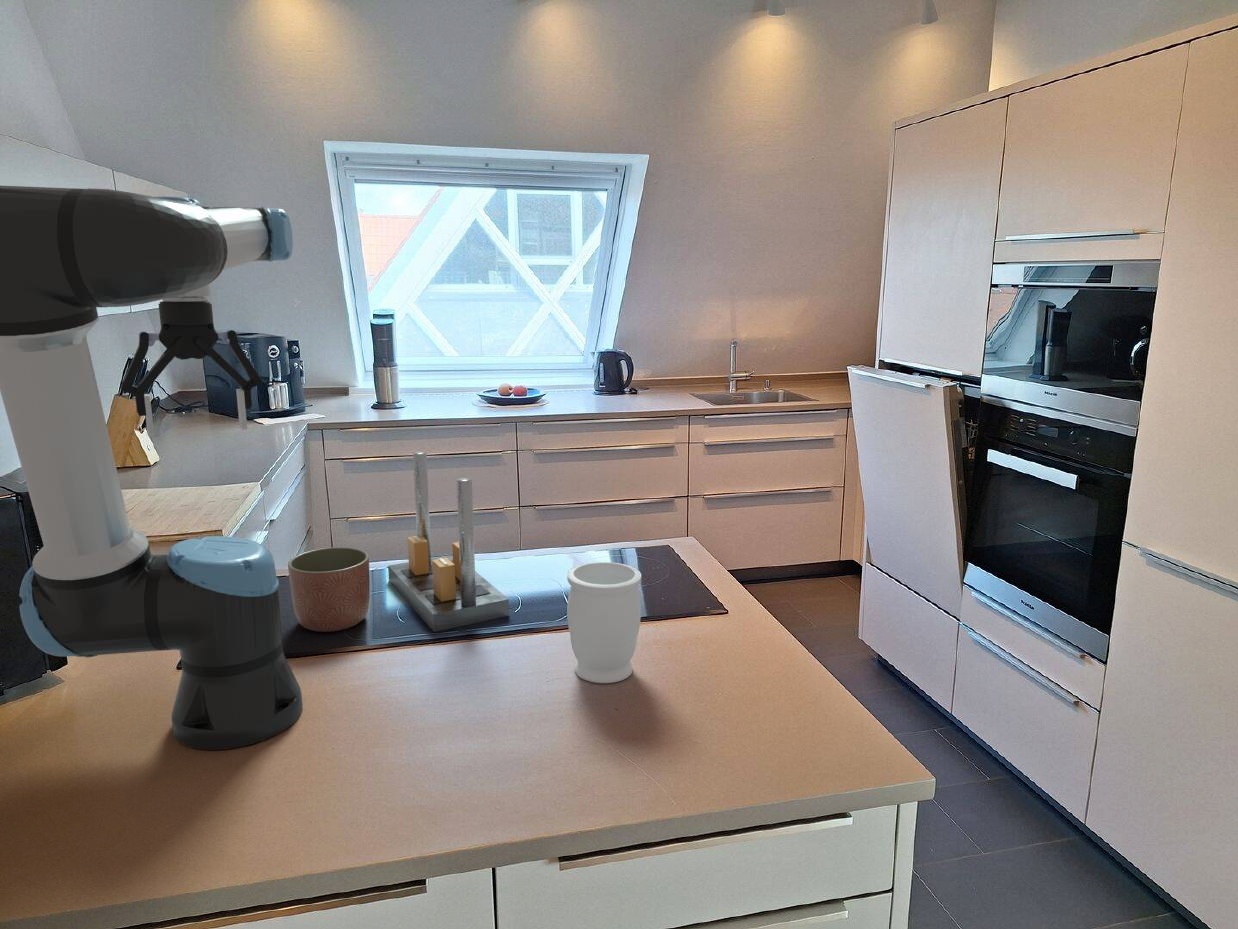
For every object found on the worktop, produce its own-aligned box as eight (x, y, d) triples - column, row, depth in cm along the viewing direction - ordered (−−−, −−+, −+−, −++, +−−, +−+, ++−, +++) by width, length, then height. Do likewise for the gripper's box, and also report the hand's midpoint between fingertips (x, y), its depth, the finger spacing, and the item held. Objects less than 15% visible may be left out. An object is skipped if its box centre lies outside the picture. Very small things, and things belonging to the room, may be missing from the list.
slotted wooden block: (456, 598, 136) (454, 563, 135) (441, 601, 135) (440, 566, 134) (447, 591, 140) (446, 556, 138) (433, 593, 138) (432, 558, 137)
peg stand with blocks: (509, 615, 138) (506, 477, 132) (434, 632, 131) (427, 486, 126) (455, 569, 159) (451, 448, 154) (388, 580, 153) (381, 455, 148)
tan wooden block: (429, 573, 148) (427, 540, 147) (415, 575, 147) (414, 542, 145) (422, 566, 151) (420, 534, 150) (409, 568, 150) (407, 536, 149)
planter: (300, 644, 126) (295, 577, 124) (287, 616, 137) (281, 554, 134) (381, 628, 133) (377, 564, 130) (362, 602, 143) (358, 542, 140)
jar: (654, 670, 119) (656, 573, 116) (605, 696, 112) (605, 593, 108) (602, 648, 126) (602, 555, 123) (552, 671, 119) (551, 573, 115)
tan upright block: (474, 579, 145) (473, 546, 144) (461, 581, 144) (460, 548, 143) (466, 572, 149) (465, 539, 147) (453, 574, 147) (452, 541, 146)
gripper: (264, 299, 140) (274, 422, 144) (91, 299, 126) (108, 435, 131) (273, 300, 133) (283, 428, 138) (92, 300, 120) (110, 442, 124)
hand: (198, 432), depth 134 cm, fingers open, 13 cm apart
